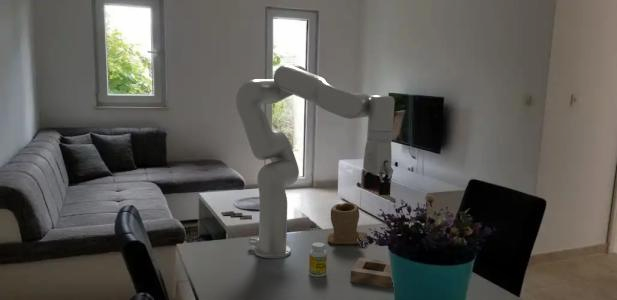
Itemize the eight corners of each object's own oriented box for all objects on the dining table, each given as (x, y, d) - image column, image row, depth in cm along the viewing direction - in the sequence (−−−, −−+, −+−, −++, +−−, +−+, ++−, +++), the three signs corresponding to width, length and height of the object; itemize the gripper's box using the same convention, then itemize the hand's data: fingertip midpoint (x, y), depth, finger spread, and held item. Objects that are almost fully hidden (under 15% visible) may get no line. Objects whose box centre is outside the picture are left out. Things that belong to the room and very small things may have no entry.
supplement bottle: (319, 269, 160) (320, 240, 158) (329, 275, 155) (330, 245, 154) (305, 272, 157) (306, 243, 155) (315, 278, 152) (316, 248, 151)
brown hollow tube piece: (327, 248, 180) (329, 207, 177) (326, 237, 191) (328, 199, 189) (369, 249, 179) (372, 209, 177) (366, 238, 191) (368, 200, 189)
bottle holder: (350, 281, 151) (350, 270, 150) (358, 267, 162) (359, 257, 161) (390, 288, 147) (390, 276, 146) (395, 273, 158) (396, 262, 158)
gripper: (356, 132, 158) (353, 185, 161) (382, 140, 142) (378, 198, 145) (377, 132, 161) (374, 184, 164) (405, 140, 145) (400, 197, 147)
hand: (376, 191), depth 154 cm, fingers open, 9 cm apart
